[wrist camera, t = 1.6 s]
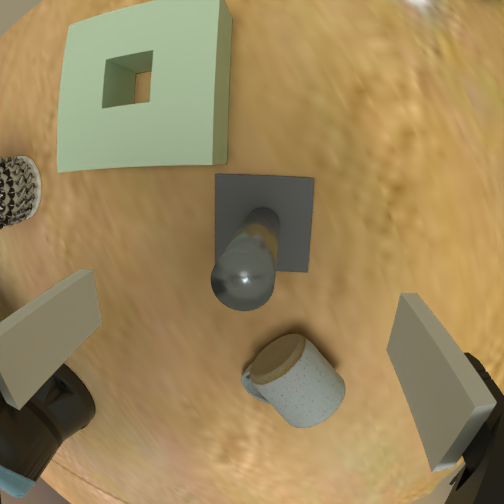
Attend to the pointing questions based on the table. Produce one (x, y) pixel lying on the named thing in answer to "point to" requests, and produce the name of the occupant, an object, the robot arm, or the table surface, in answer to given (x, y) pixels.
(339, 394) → the ceramic mug
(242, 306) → the pin
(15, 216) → the decorative candle
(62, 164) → the socket block
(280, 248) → the mat
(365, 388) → the table surface
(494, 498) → the robot arm
